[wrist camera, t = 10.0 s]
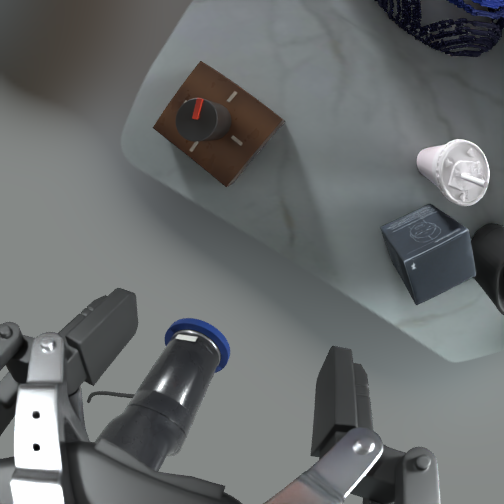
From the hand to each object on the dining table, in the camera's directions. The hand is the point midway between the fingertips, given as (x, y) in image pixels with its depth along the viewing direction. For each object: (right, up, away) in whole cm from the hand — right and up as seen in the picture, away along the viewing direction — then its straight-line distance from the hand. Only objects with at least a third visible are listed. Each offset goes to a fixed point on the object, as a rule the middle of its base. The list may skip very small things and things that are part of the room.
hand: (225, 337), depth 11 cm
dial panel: (-3, +19, +21) cm, 29 cm away
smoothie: (+23, +14, +18) cm, 32 cm away
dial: (-3, +18, +19) cm, 26 cm away
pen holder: (+35, +3, +20) cm, 40 cm away
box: (+22, +6, +22) cm, 31 cm away
